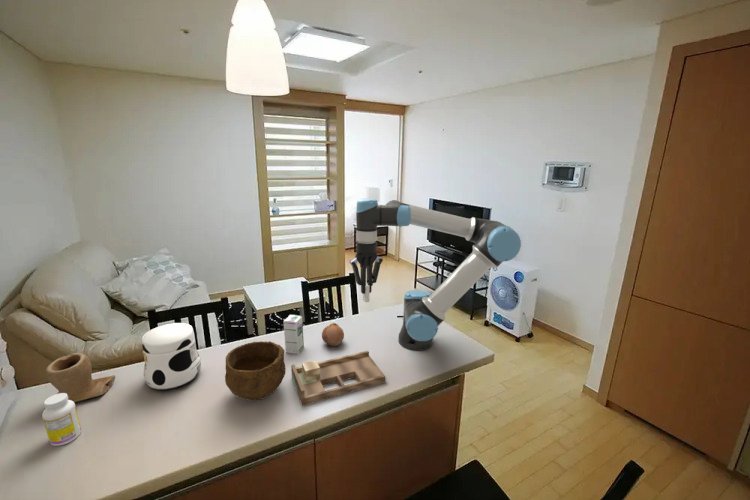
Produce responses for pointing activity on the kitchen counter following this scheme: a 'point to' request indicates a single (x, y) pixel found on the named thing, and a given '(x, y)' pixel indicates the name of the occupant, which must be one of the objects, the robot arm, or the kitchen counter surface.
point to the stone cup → (76, 378)
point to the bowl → (255, 370)
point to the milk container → (170, 356)
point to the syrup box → (293, 334)
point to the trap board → (337, 377)
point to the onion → (333, 335)
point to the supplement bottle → (61, 419)
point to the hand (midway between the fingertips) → (366, 300)
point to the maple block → (311, 370)
